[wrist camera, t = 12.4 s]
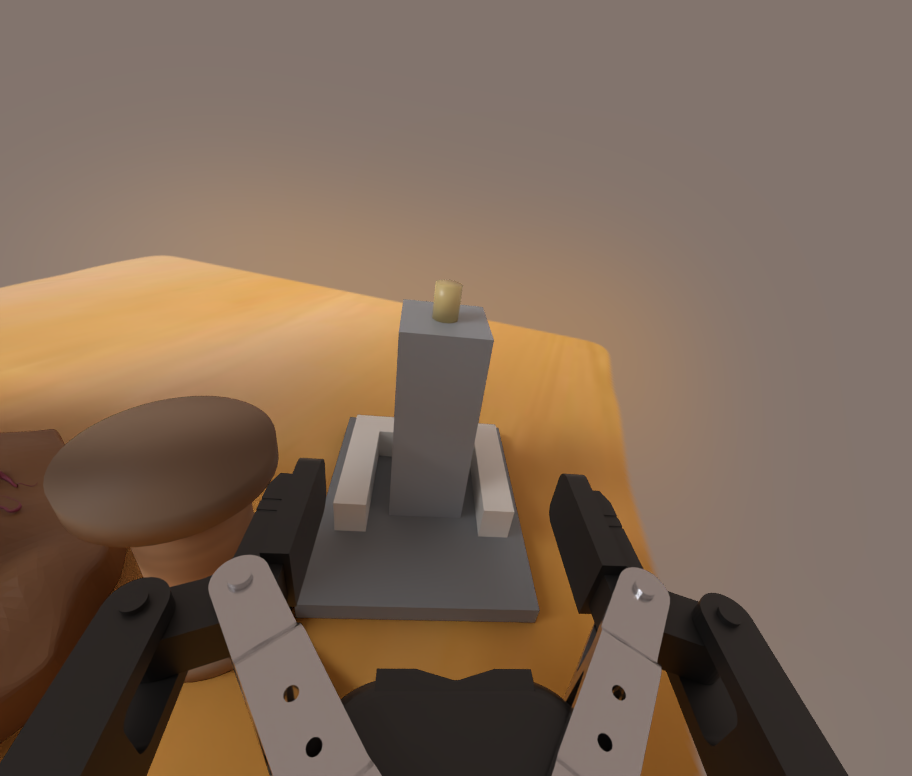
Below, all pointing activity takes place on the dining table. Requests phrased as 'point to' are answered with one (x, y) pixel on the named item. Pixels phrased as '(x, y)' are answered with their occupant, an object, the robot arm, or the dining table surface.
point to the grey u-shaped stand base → (417, 542)
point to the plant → (41, 578)
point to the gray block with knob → (437, 402)
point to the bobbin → (167, 486)
